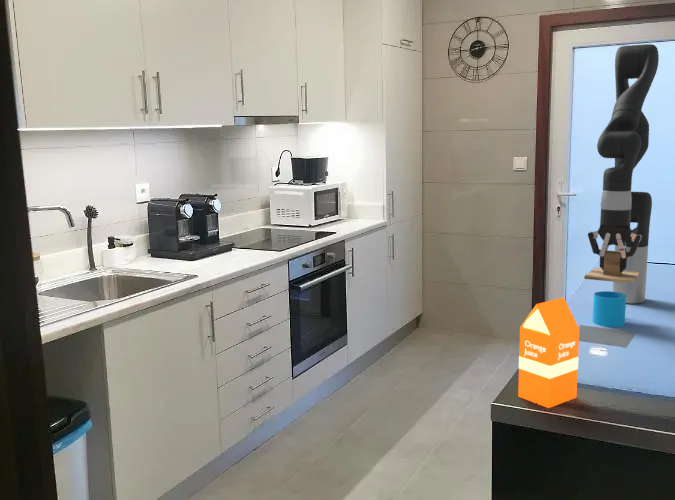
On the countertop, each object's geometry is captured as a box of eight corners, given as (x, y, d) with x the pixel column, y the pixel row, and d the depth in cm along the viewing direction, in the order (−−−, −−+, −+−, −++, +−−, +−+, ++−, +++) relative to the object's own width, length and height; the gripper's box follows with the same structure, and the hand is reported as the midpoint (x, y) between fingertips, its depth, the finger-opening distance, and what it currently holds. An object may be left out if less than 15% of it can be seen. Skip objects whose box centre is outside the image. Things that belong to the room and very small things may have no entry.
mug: (620, 330, 185) (622, 300, 183) (589, 325, 189) (590, 296, 188) (630, 319, 194) (632, 290, 193) (600, 315, 199) (601, 287, 197)
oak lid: (594, 270, 197) (595, 247, 196) (640, 274, 191) (641, 250, 190) (584, 278, 188) (585, 253, 186) (632, 283, 181) (633, 257, 180)
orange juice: (577, 397, 140) (581, 300, 137) (548, 408, 135) (552, 308, 132) (545, 386, 147) (548, 293, 143) (517, 396, 142) (519, 300, 138)
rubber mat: (580, 326, 188) (580, 325, 188) (636, 333, 181) (636, 332, 181) (566, 340, 177) (567, 338, 176) (625, 348, 169) (626, 347, 169)
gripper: (647, 207, 185) (643, 270, 188) (591, 204, 193) (588, 265, 196) (642, 210, 179) (638, 275, 182) (585, 207, 187) (582, 270, 190)
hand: (612, 270), depth 189 cm, fingers closed on oak lid, 4 cm apart
